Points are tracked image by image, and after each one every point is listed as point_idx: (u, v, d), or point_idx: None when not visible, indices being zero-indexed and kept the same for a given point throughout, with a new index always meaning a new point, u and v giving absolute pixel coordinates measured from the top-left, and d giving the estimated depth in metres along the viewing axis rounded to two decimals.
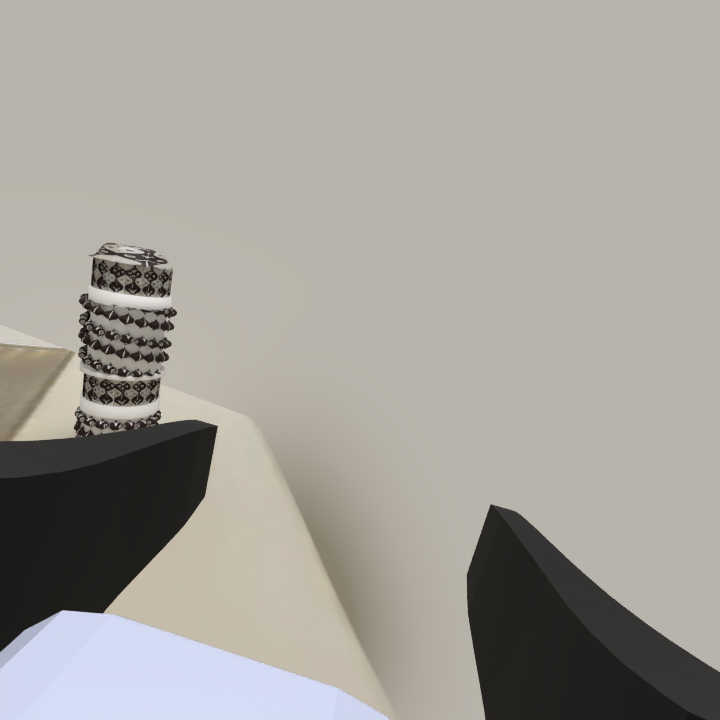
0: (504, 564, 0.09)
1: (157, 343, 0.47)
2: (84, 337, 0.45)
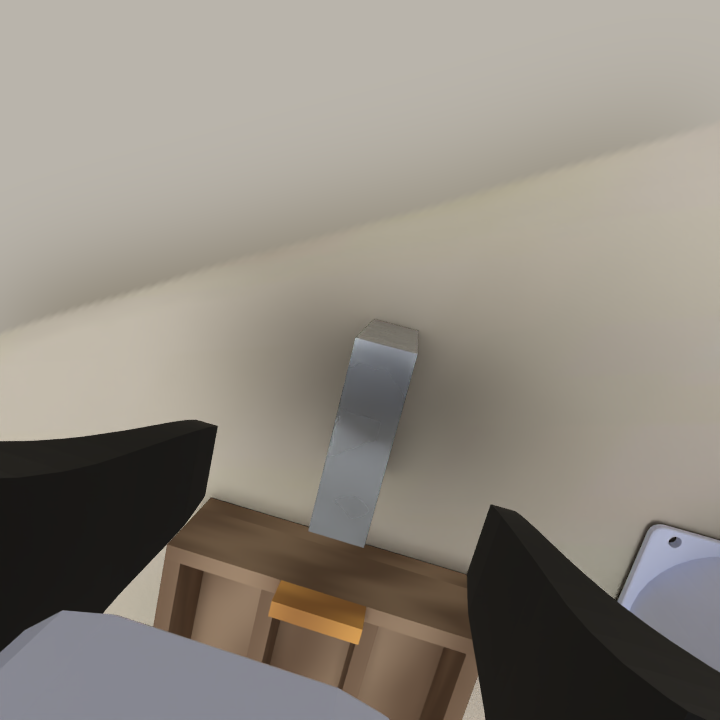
0: (504, 564, 0.09)
1: None
2: None
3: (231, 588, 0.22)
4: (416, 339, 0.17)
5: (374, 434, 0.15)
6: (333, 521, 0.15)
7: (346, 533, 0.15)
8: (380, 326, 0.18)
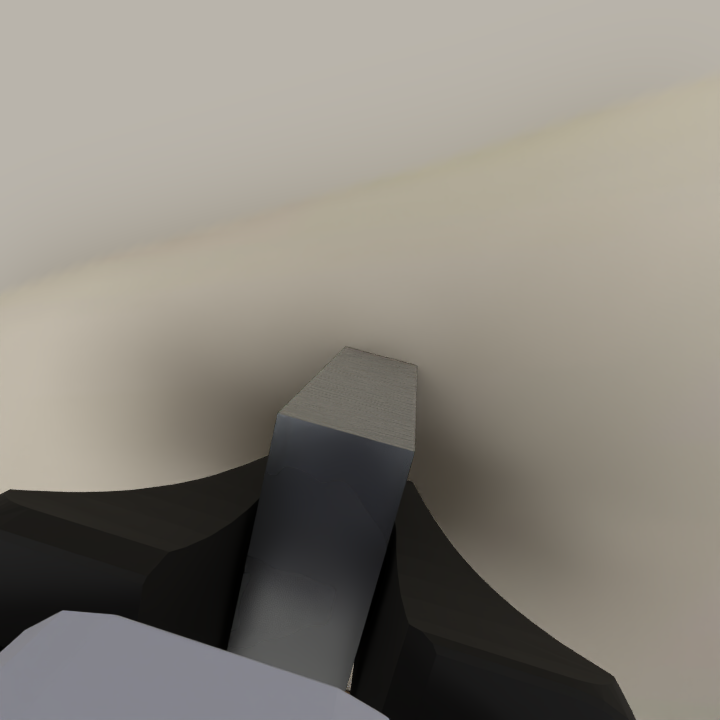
0: None
1: None
2: None
3: None
4: (413, 393, 0.09)
5: (323, 611, 0.07)
6: None
7: None
8: (350, 365, 0.10)
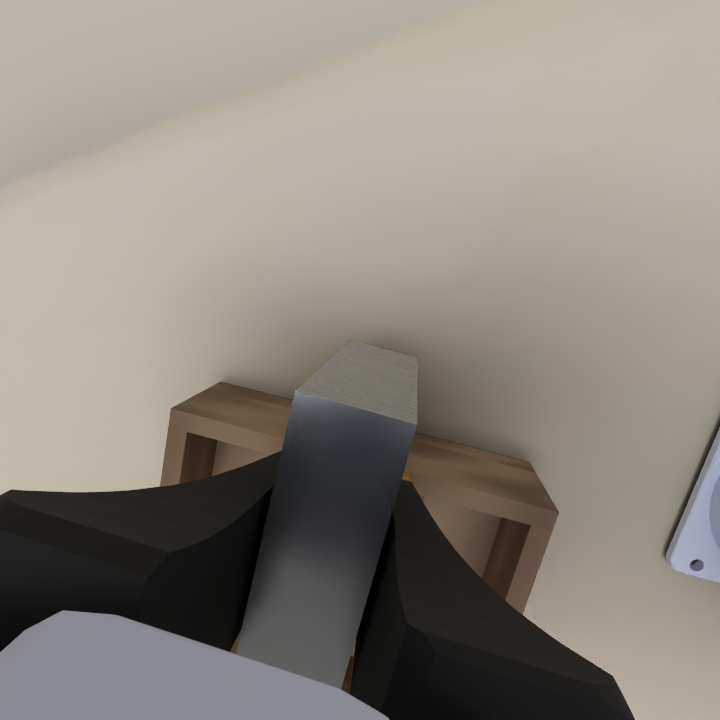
0: None
1: None
2: None
3: None
4: (415, 380, 0.10)
5: (334, 571, 0.08)
6: None
7: None
8: (356, 355, 0.11)
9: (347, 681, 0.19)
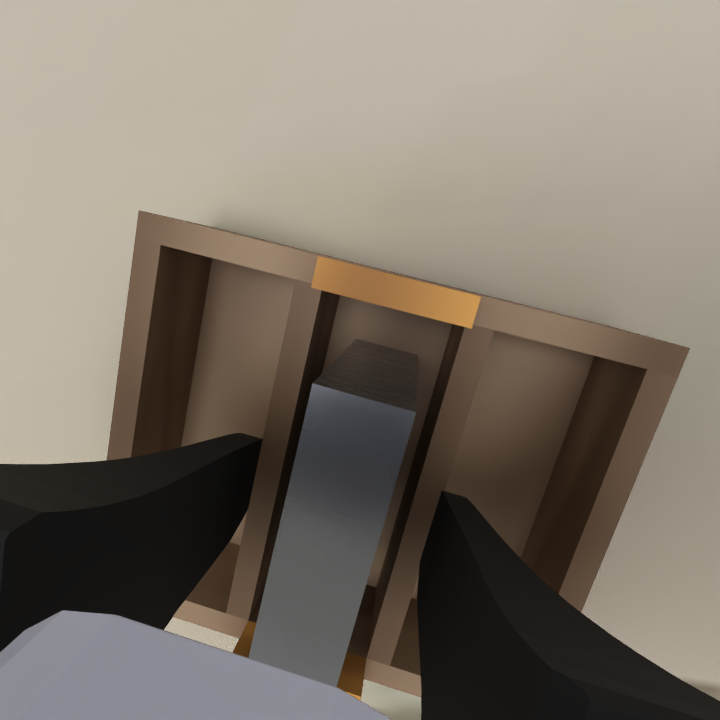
0: (446, 547, 0.09)
1: None
2: None
3: (241, 356, 0.15)
4: (414, 375, 0.11)
5: (345, 539, 0.09)
6: (282, 667, 0.10)
7: None
8: (362, 352, 0.12)
9: (369, 614, 0.15)
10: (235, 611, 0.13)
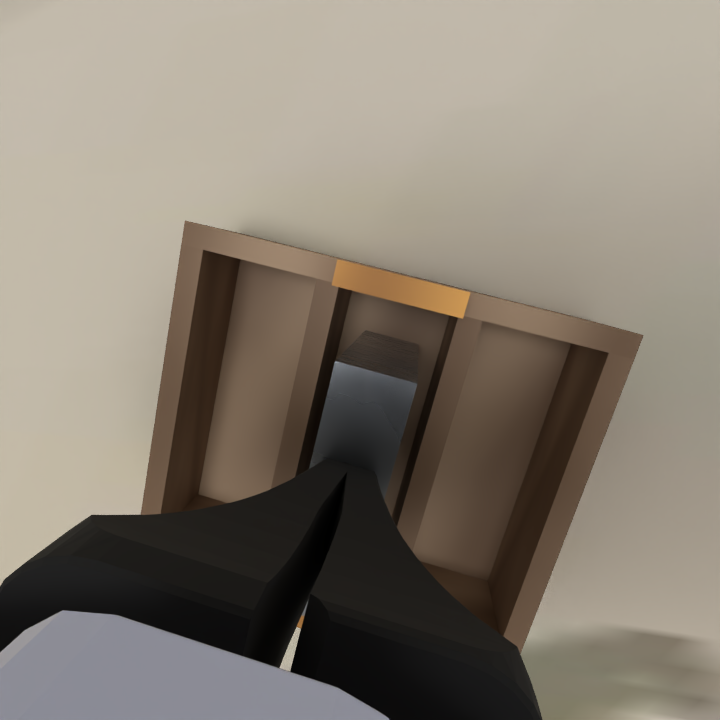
0: (338, 515, 0.09)
1: None
2: None
3: (265, 345, 0.17)
4: (416, 358, 0.13)
5: None
6: None
7: None
8: (371, 341, 0.14)
9: None
10: None
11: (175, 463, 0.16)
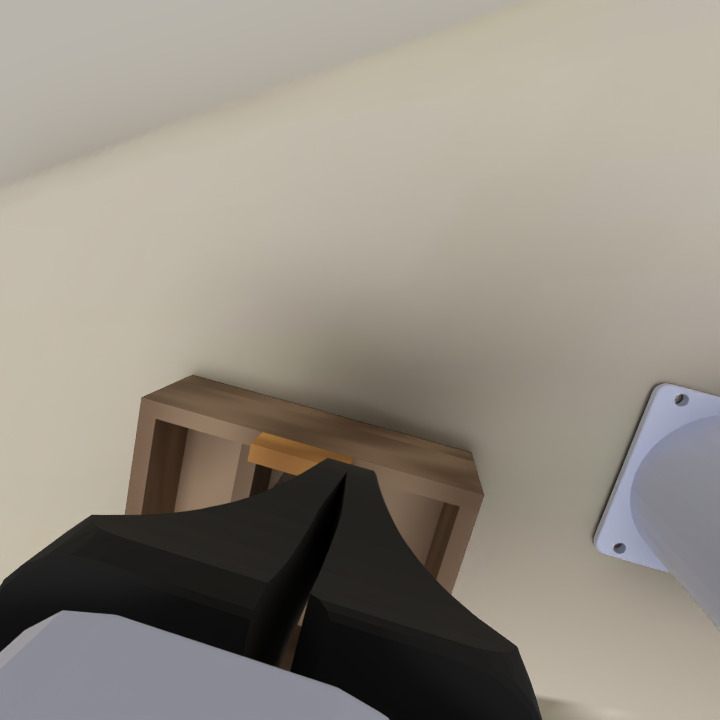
0: (337, 515, 0.09)
1: None
2: None
3: (213, 468, 0.21)
4: None
5: None
6: None
7: None
8: None
9: None
10: None
11: None
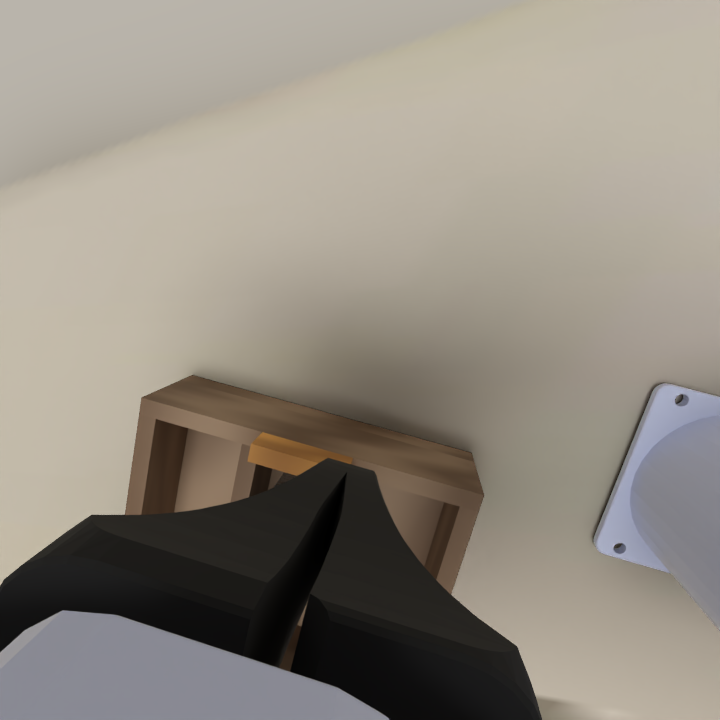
0: (337, 514, 0.09)
1: None
2: None
3: (213, 468, 0.21)
4: None
5: None
6: None
7: None
8: None
9: None
10: None
11: None
